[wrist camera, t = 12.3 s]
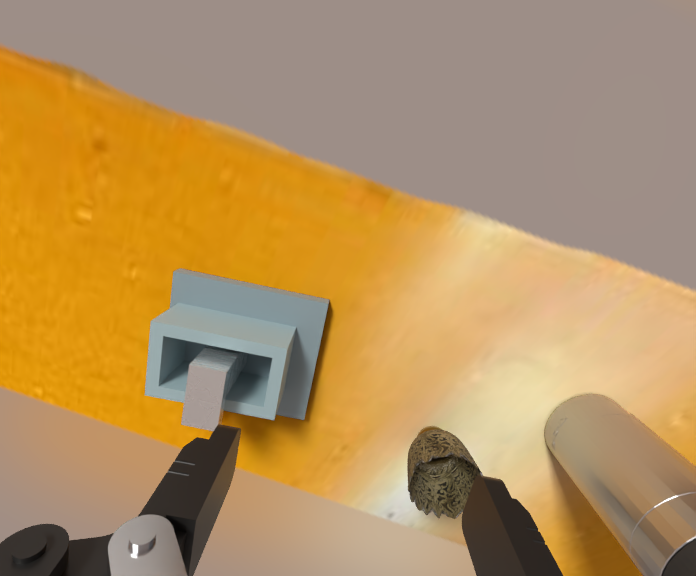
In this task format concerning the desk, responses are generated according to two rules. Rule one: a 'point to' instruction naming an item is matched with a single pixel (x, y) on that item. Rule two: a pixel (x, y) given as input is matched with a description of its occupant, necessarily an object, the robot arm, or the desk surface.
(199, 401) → the grey painted wood block
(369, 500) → the desk surface
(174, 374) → the well board
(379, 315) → the desk surface
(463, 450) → the cup
